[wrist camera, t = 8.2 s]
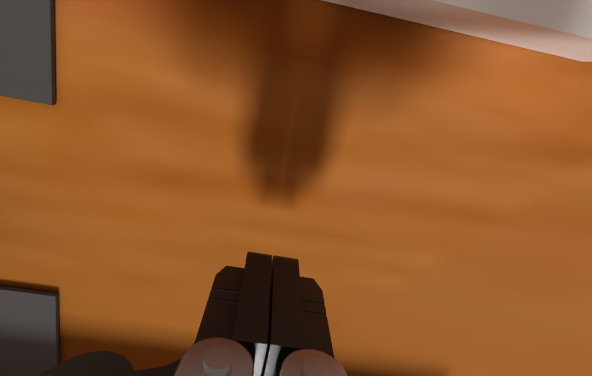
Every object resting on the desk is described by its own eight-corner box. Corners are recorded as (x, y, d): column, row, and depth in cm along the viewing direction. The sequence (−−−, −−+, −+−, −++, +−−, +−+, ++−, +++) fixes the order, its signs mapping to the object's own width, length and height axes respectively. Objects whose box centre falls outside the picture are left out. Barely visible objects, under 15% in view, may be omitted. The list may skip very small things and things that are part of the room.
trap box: (595, 28, 11) (705, 15, 8) (418, 438, 17) (447, 514, 14) (-304, -196, 8) (-598, -326, 6) (-153, 381, 14) (-261, 461, 11)
